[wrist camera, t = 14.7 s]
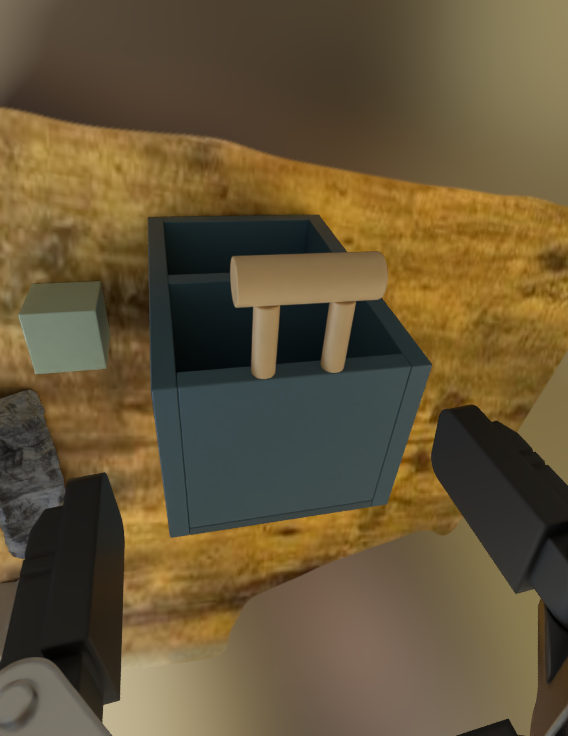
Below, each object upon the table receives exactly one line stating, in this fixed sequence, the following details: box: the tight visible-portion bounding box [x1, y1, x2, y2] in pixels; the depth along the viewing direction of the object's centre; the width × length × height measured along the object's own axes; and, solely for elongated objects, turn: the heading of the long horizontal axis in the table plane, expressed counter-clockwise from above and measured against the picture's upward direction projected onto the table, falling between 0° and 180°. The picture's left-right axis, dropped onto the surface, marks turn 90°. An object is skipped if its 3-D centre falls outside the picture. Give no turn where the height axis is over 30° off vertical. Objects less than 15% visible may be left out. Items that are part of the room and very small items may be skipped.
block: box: [19, 281, 110, 374], centre depth 34 cm, size 5×5×5 cm
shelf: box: [148, 215, 432, 538], centre depth 28 cm, size 18×12×15 cm
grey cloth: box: [0, 390, 65, 559], centre depth 43 cm, size 21×7×2 cm, turn 173°
